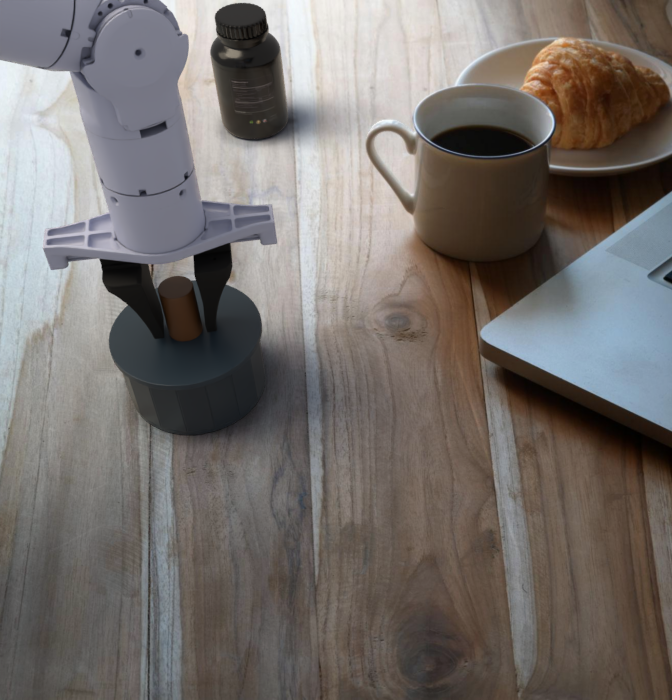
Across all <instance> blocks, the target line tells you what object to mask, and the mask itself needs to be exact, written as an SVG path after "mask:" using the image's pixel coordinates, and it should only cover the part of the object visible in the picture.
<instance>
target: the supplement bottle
mask: <svg viewBox="0 0 672 700" xmlns="http://www.w3.org/2000/svg"><path fill="white" fill-rule="evenodd" d="M267 19H268V17H267V14H266V11H265V10H264V8H262V6H260V5H257V4H254V3H251V2H234V3H230V4H226V5H225V6H222V7H221V8H219V9H218V10H217V11H216V12H215V14H214V23H215V33H216V36H217V37H216V38H215V39H214V40H213V42H211V43H212V44H211V46H210V49H209V53H210V54H209V55H210V62H211V67H212V72H213V78H214V84H215V89H216V95H217V101H218V106H219V113H220V117H221V122H222V125H223V127H224V128H225V130H226V131H227V132H228V133H230V134H231V135H232V136H234V137H237V138H240V139H244V140H262V139H266V138H267V139H268V138H270V137H272V136H273V137H274V136H275V135H277V134H278V133H280V132H281V131H282V130H283V129H284V128H285V127H286V125H287V124H288V121H289V109H288V99H287V91H286V83H285V73H284V67H283V66H284V64H283V56H282V48H281V45H280V43H279V41H278V40H277V38H276V37H275V36H274V35H273V34H272V33H270V27H269V23H268V20H267Z"/></svg>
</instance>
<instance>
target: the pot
mask: <svg viewBox="0 0 672 700" xmlns="http://www.w3.org/2000/svg"><path fill="white" fill-rule="evenodd" d="M263 355H264V354H263V350H262V344H261V342H260V343H259V345H258V347H257V349H256V351H255V353H254V354H253V355H252V357H251V358H250V359H249V360H248V361H247V362H246V363H245V364H244V365H243V366H242V367H241V368H240V369H238V370H237V371H236V372H234V373H233V374H231V375H229V376H228V377H226V378H224V379H222V380H220V381H217V382H215V383H212V384H210V385H206V386H203V387H199V388H193V389H187V390H162V389H155V388H151V387H147V386H144V385H141V384H139V383H137V382H135V381H133V380H131V379H130V378H128V377H127V376H125V375H124V374H123V373H122V376H123V378H124V380H125V385H126V388H127V390H128V394H129V396H130V400H131V401H132V403H133V405H134V408H135V409H136V411H137V413H138V414H139V415H140V417H141V418H142V419H143V420H144V421H145V422H147V423H148V424H149V425H151V426H152V427H154V428H156V429H158V430H161V431H164V432H167V433H171V434H175V435H182V436H183V435H184V436H185V435H186V436H187V435H189V436H190V435H191V436H192V435H193V436H194V435H203V434H208V433H212V432H216V431H219V430H222V429H225V428H227V427H229V426H231V425H233V424H235V423H237V422H238V421H239V420H242V418H244V417H245V416H246V415H248V414H249V413H250V412H251V411H252V410H253V408H254V407H256V405H257V404H258V402H259V401H260V399H261V397H262V395H263V393H264V390H265V386H266V370H265V361H264V356H263Z"/></svg>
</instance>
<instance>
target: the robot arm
mask: <svg viewBox="0 0 672 700" xmlns="http://www.w3.org/2000/svg"><path fill="white" fill-rule="evenodd" d="M189 48H190V40H189V35H188V34H187V33H183V31H182V30H181V28H180V25H179V23H178V20H177V18H176V17H175V14H174V13H173V12H172V10H170V9H169V8H168V6H167V5H166V4H164V2H163V1H161V0H0V61H2V62H7V63H13V64H16V65H21V66H25V67H30V68H34V69H39V70H40V69H41V70H45V71H47V72H48V71H49V72H69V75H70V78H71V82H72V85H73V89H74V91H75V96H76V99H77V102H78V108H79V115H80V118H81V122H82V124H83V128H84V131H85V135H86V139H87V143H88V145H89V148H90V152H91V155H92V159H93V161H94V162H93V163H94V165H95V168H96V172H97V173H96V174H97V176H98V179H99V183H100V186H101V189H102V193H103V196H104V199H105V203H106V207H107V210H108V212H104V213H100V214H98V215H95V216H92V217H89V218H86V219H83V220H79V221H76V222H73V223H69V224H66V225H60V226H55V227H48V228H44V230H43V231H44V232H43V241H42V250H43V253H44V255H45V259H46V261H47V263H48V266H49V269H50V270H51V271H57V270H64V269H67V268H68V267H69V263H70V262H71V263H72V262H79V261H80V262H81V261H87V260H95V259H99V261H100V267H101V271H102V272H101V281H102V283H103V286H104V288H105V289H106V290H107V292H108V293H110V294H111V295H113V296H115V297H117V298H118V299H120V300H121V301H122V302H124V304H126V306H128V305H129V306H130V307H131V308H132V309H133V310H134V311H135V312H136V313H137V315H138V316H139V317H140V318H141V319H142V320H143V322H144V323H145V324H146V326H147V327H148V329H149V330H150V332H151V333H152V335H153V337H154V338H155V339H160V338H164V317H163V313H162V308H161V304H160V302H159V299H158V296H157V293H156V290H155V285H154V281H153V278H152V274H151V271H150V266H149V265H163V264H164V265H165V264H170V263H175V262H178V261H181V260H185V259H188V258H190V257H193V274H194V279H195V280H196V282H197V285H198V288H199V291H200V295H201V299H202V302H203V308H204V318H205V326H206V330H207V332H213V331H216V330H217V321H216V317H217V310H218V305H219V301H220V297H221V294H222V292H223V289H224V287H225V285H227V283H228V281H229V280H230V278H231V275H232V271H233V256H232V254H233V253H232V244H236V243H243V242H251V241H252V242H253V241H259V242H260V244H261V245H262V246H270V245H277V244H278V237H277V230H276V222H275V217H274V209H273V204H271V203H268V204H242V203H232V202H223V201H213V200H204V199H202V197H201V191H200V187H199V182H198V181H199V180H198V176H197V171H196V166H195V162H194V161H195V159H194V155H193V151H192V150H193V149H192V146H191V141H190V136H189V130H188V126H187V125H188V124H187V120H186V116H185V111H184V105H183V101H182V97H181V94H180V89H179V85H178V83H179V80H180V77H181V75H182V74H183V72H184V69H185V66H186V64H187V61H188V56H189V52H190V51H189V50H190V49H189Z"/></svg>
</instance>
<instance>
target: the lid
mask: <svg viewBox="0 0 672 700" xmlns="http://www.w3.org/2000/svg"><path fill="white" fill-rule="evenodd" d="M155 290H156V293H157V296H158V299H159V302H160V304H161V308H162V313H163V317H164V338H160V339H155V338H154V337H153V335H152V333H151V332H150V330H149V329H148V327H147V326H146V324H145V323H144V322H143V320H142V319H141V318H140V317H139V316H138V315H137V313H136V312H135V311H134V310H133V309H132V308H131V307H130V306H129V305H126V306H125V307H124V308H123V309H122V311H120V312H119V314H118V316H116V318H115V320H114V322H113V324H112V326H111V328H110V332H109V334H108V348H109V351H110V356H111V358H112V362H113V363H114V365H115V366H116V367H117V369H118V370H119V371H120V372H121V373H122V375H123V374H124V375H125V376H127V377H128V378H130V379H131V380H133V381H135V382H137V383H139V384H141V385H144V386H147V387H151V388H155V389H162V390H187V389H193V388H199V387H203V386H206V385H210V384H212V383H215V382H217V381H220V380H222V379H224V378H226V377H228V376H229V375H231V374H233V373H234V372H236V371H237V370H238V369H240V368H241V367H242V366H243V365H244V364H245V363H246V362H247V361H248V360H249V359H250V358H251V357H252V355H253V354H254V353H255V351H256V349H257V347H258V345H259V343H261V339H262V335H263V321H262V317H261V313H260V311H259V309H258V307H257V305H256V303H255V302H254V301H253V299H251V298H250V296H248V295H247V294H246V293H244V292H243V291H241V290H239V289H238V288H236V287H234V286H231V285H228V284H226V285H225V287H224V289H223V292H222V294H221V297H220V301H219V305H218V310H217V317H216V321H217V330H216V331H213V332H207V330H206V326H205V318H204V308H203V302H202V299H201V295H200V291H199V288H198V285H197V282H196V279H195V280H194V279H193V280H191V279H190V278H188V277H187V276H184V275H174V276H173V275H172V276H169V277H166V278H165V279H163V280H162V281H161V282H160V283H159V284H158V286H157V287H156V288H155Z"/></svg>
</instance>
